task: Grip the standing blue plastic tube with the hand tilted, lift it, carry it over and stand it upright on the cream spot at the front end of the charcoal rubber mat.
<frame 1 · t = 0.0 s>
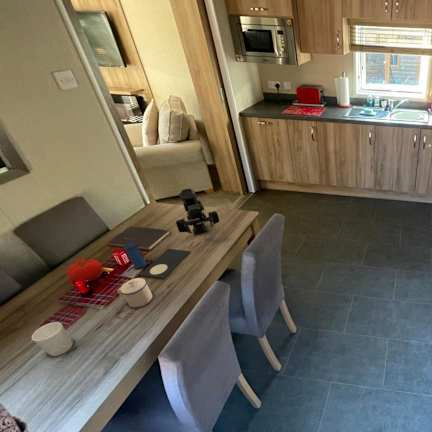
hand: (201, 229, 154), 17 cm above the table, tool horizontal, fingers open, 9 cm apart
mat: (166, 263, 156), on the table
white cup: (61, 348, 116), on the table
tomato: (90, 278, 145), on the table
tube: (140, 265, 154), on the table
teacup with lid: (137, 300, 136), on the table
hardcover book: (141, 239, 171), on the table
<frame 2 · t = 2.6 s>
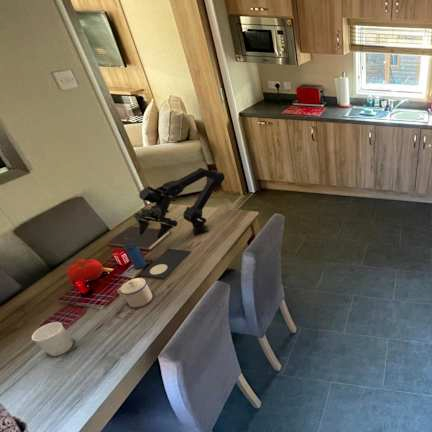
hand: (149, 236, 151), 14 cm above the table, tool tilted 50°, fingers open, 9 cm apart
nothing on the table moved.
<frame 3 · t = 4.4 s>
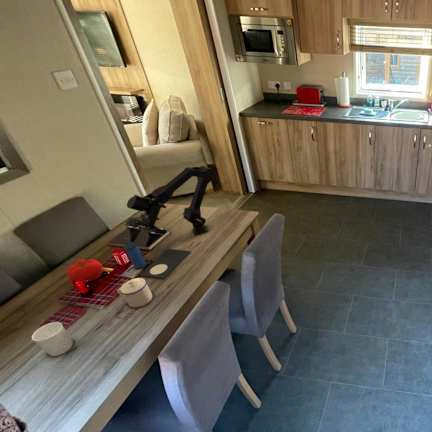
hand: (139, 244, 151), 11 cm above the table, tool tilted 45°, fingers open, 9 cm apart
nothing on the table moved.
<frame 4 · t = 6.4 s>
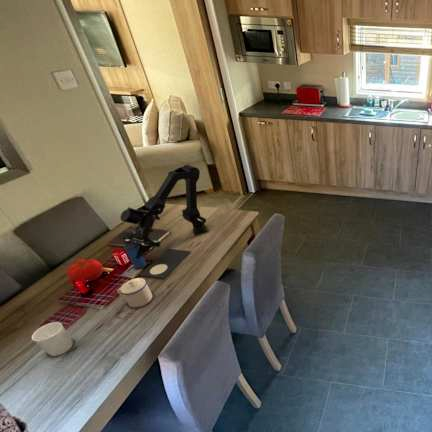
hand: (133, 257, 149), 7 cm above the table, tool tilted 45°, fingers closed on tube, 5 cm apart
tube: (140, 265, 154), on the table, touching gripper
everything else where it was.
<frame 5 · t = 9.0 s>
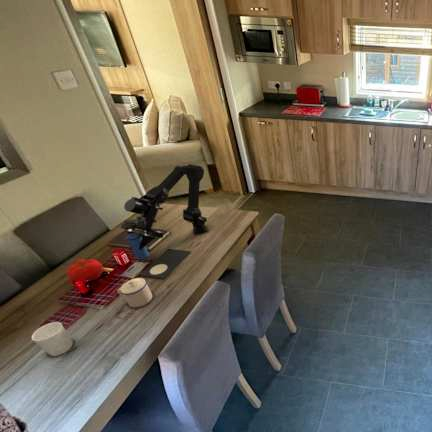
hand: (135, 248, 144), 13 cm above the table, tool tilted 45°, fingers closed on tube, 5 cm apart
tube: (143, 257, 149), point 7 cm above the table, touching gripper
everything else where it was.
when the fingers open (8 cm above the table, at t = 12.0 s): tube stays where it is, resting on mat.
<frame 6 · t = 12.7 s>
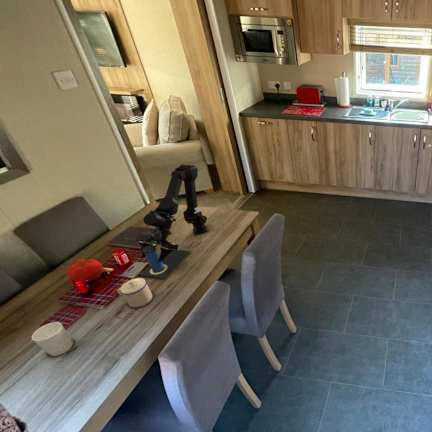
hand: (151, 260, 146), 8 cm above the table, tool tilted 45°, fingers open, 9 cm apart
tube: (158, 269, 151), point 1 cm above the table, touching mat
everything else where it was.
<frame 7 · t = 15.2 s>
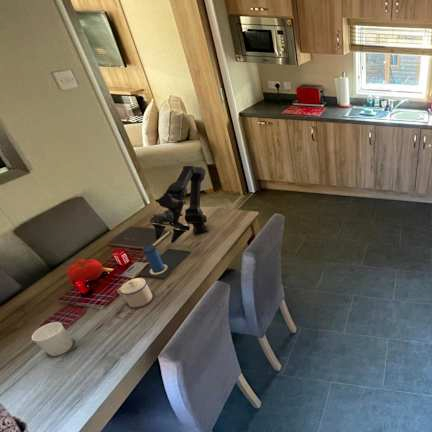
hand: (164, 241, 151), 12 cm above the table, tool tilted 45°, fingers open, 9 cm apart
nothing on the table moved.
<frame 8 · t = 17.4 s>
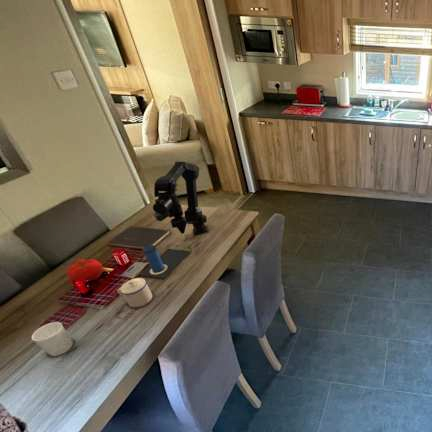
hand: (181, 228, 159), 13 cm above the table, tool pointing down, fingers open, 9 cm apart
nothing on the table moved.
at the end: tube 0.0 cm from the target spot, point 0.9 cm above the table; tube tilted 0°; the gripper is holding nothing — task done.
